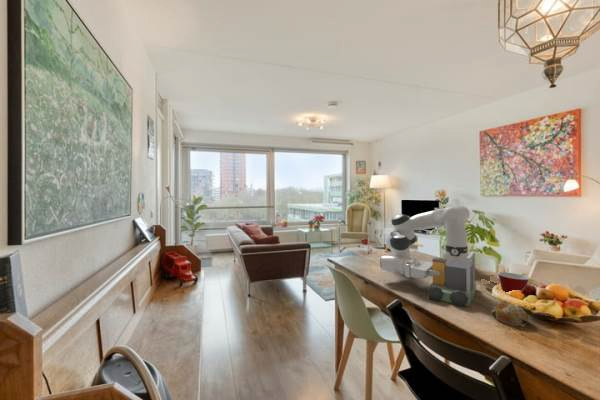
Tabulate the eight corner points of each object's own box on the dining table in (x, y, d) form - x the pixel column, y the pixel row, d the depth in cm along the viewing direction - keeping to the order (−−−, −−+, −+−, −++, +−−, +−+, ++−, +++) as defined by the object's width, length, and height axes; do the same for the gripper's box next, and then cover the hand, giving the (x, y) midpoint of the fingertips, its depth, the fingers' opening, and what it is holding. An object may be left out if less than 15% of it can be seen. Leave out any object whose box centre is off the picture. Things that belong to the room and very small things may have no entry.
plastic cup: (533, 303, 112) (533, 275, 112) (524, 310, 106) (524, 280, 106) (503, 295, 121) (503, 269, 121) (492, 301, 115) (492, 273, 115)
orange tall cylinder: (435, 285, 131) (435, 257, 131) (446, 287, 128) (446, 258, 128) (432, 288, 127) (432, 259, 127) (444, 290, 124) (444, 260, 124)
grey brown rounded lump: (512, 337, 93) (524, 321, 89) (483, 314, 101) (493, 298, 98) (526, 330, 97) (538, 314, 94) (498, 309, 105) (508, 293, 102)
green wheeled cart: (440, 282, 140) (440, 245, 140) (476, 288, 130) (476, 249, 130) (425, 298, 118) (425, 255, 118) (468, 308, 108) (468, 260, 108)
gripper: (417, 268, 144) (446, 273, 135) (404, 278, 128) (436, 283, 119) (417, 257, 144) (446, 260, 135) (404, 265, 128) (436, 269, 119)
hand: (441, 271), depth 127 cm, fingers closed on orange tall cylinder, 5 cm apart
